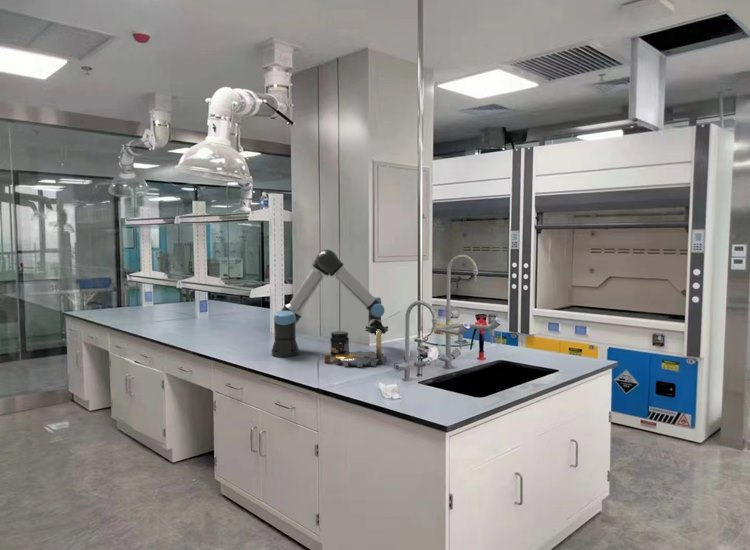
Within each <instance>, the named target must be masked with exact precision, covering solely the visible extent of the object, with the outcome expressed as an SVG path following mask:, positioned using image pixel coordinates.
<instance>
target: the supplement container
mask: <svg viewBox="0 0 750 550" xmlns="http://www.w3.org/2000/svg"><path fill="white" fill-rule="evenodd" d="M330 336H331V337H330V339H329V340H330V341H329V342H330V347H329V348H330V352H329V354H331V355H332V356H336V354H343V353H345V352H350V337H349V332H348V331H344V330H343V331H342V330H341V331H339V330H337V331H331V332H330Z"/></svg>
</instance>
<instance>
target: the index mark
mask: <svg viewBox="0 0 750 550" xmlns="http://www.w3.org/2000/svg"><path fill="white" fill-rule="evenodd" d="M331 355H332V354H331V353H324V364H331V363H332V362H331V359H332V358H331Z"/></svg>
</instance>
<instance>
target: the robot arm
mask: <svg viewBox="0 0 750 550" xmlns="http://www.w3.org/2000/svg"><path fill="white" fill-rule="evenodd" d="M310 266H311V270H310V271H309V272H308V274H307V276H306V277H305V279H304V280H303V282H302V284H301V285H300V287H299V288H298V289H297V291H296V292H295V294H294V295H293V297H292V298H291V300H290V302H289V303H286V304H284V305H283V307H282V308H281V310H280V311H276V312H275V313H274V315H273V324H274V325H273V326H274V327H273V328H274V329H273V331H274V332H273V333H274V335H273V336H274V341H273V344H272V347H271V356H272V355H274V356H273V357H276V356H285V357H284V358H287V357H286V356H290V357H294V356H295V357H296V356H298V355H300V348H299V345H298V342H297V339H296V338H297V335H296V332H297V331H296V326H297V324H298V323H299V321H300V319H301V318H302V317H303V310H304V309H305V308H306V306H307V304H308V303H309V301H310V299H311V298H312V297H313V295H314V294H315V292H316V290H317V289H318V288H319V286H320V285H321V283H322V282H323V280H324V279H325V278H326V277H329V276H330V277H331V278H335V279H336V280H337V281H338V282H339V283H340V284H341V285H342V287H344V288H345V289H346V290H347V291H348V292H349V293H350V294H351V295H352V296H353V297H354V298H355V299H356V300H357V301H358V302H359V303H361V305H362V306H363V307H364V308H365V309H366V310H367V311H368V312H367V313H368V317H367V319H368V321H367V326H365V332H367V333H369V334H371V335H373V334H374V336H376V331H377V330H381V335H382V334H383V335H385V334H386V333H387V332H389V326H387V325H386V326H384V325H383V323H382V317H383V316H384V314H385V307H384V306H383V304H382V299H381V297H378V296H373V295H372V294H371V293H370V292H369V291H368V290H367V289H366V288H365V287H364V286H363V285H362V284H361V283H360V281H358V280H357V279H356V278H355V277H354V276H353V275H352V274H351V273H350V272H349V270H348V269H347V268H346V267H345V265H344V263H343V262H342V261H341V260H340V258H339V256H337V254H336V253H335V252H334V250H331V249H323V250H321V251H319V253H318V254H317V256H316V258H315V259H314V261H313V262H312V264H311V265H310Z"/></svg>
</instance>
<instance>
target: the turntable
mask: <svg viewBox="0 0 750 550" xmlns="http://www.w3.org/2000/svg"><path fill="white" fill-rule="evenodd" d="M375 336H376V339H375V340H376V342H375V344H376V345H375V346H376V349H375V350H376V352H375V351H371V350H370V351H363V350H358V351H349V352H345V353H343V354H336V356H335V355H332V362H334V364H335V365H342V366H343V367H351V366H353V367H357V368H362V367H365V366H370V367H373V366H377V365H378V364H380V365H381V364H385V361H386V362H387V355H384V353H383V352H382V334H381V330H377V331H376V335H375Z"/></svg>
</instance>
